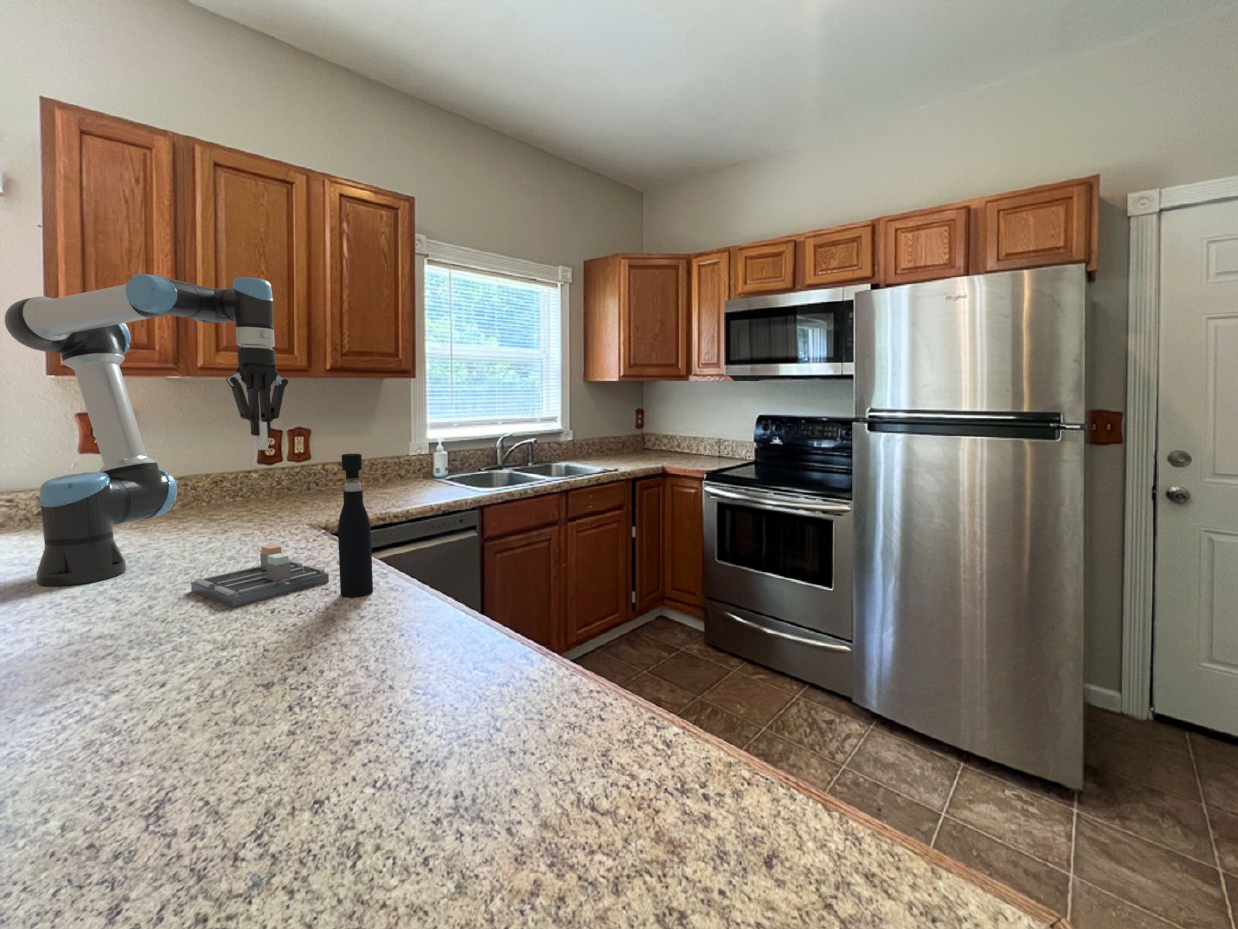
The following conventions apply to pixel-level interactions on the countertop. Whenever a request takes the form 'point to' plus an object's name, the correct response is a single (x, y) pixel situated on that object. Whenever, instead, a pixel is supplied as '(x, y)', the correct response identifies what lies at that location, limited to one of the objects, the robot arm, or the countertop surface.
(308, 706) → the countertop surface
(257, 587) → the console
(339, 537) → the black water bottle
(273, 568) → the knob
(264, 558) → the knob
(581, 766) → the countertop surface
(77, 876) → the countertop surface
